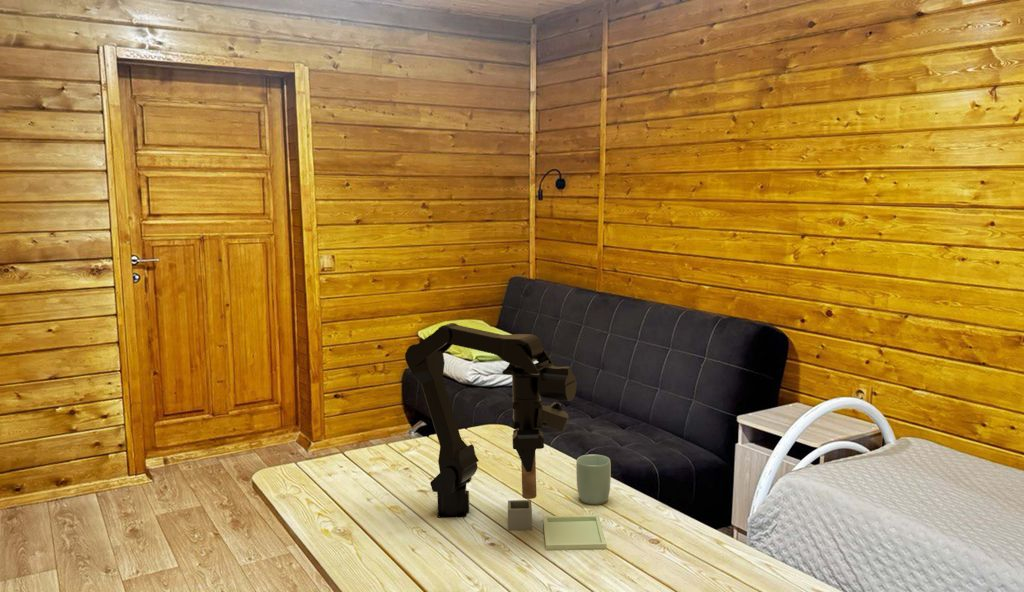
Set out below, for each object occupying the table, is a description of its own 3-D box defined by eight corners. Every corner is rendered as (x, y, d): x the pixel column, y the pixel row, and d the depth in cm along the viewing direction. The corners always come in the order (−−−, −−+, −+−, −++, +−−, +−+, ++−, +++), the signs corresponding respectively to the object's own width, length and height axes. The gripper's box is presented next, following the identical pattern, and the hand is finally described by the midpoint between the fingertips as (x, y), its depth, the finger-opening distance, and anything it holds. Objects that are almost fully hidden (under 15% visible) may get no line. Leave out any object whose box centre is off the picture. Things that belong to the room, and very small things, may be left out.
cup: (609, 509, 176) (609, 466, 175) (574, 507, 178) (574, 464, 176) (612, 496, 184) (611, 454, 182) (578, 494, 185) (578, 453, 184)
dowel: (522, 499, 164) (521, 452, 163) (522, 493, 167) (520, 448, 166) (536, 498, 164) (535, 452, 163) (536, 493, 167) (535, 447, 166)
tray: (545, 552, 156) (545, 545, 156) (543, 522, 170) (543, 516, 170) (606, 551, 156) (606, 544, 156) (598, 521, 170) (598, 515, 170)
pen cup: (508, 532, 165) (507, 509, 165) (508, 522, 170) (508, 500, 170) (532, 532, 165) (531, 509, 165) (531, 522, 170) (531, 500, 170)
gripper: (568, 407, 154) (570, 483, 156) (562, 384, 172) (564, 453, 174) (511, 408, 154) (514, 485, 156) (511, 385, 172) (513, 454, 174)
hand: (528, 468), depth 165 cm, fingers closed on dowel, 3 cm apart
